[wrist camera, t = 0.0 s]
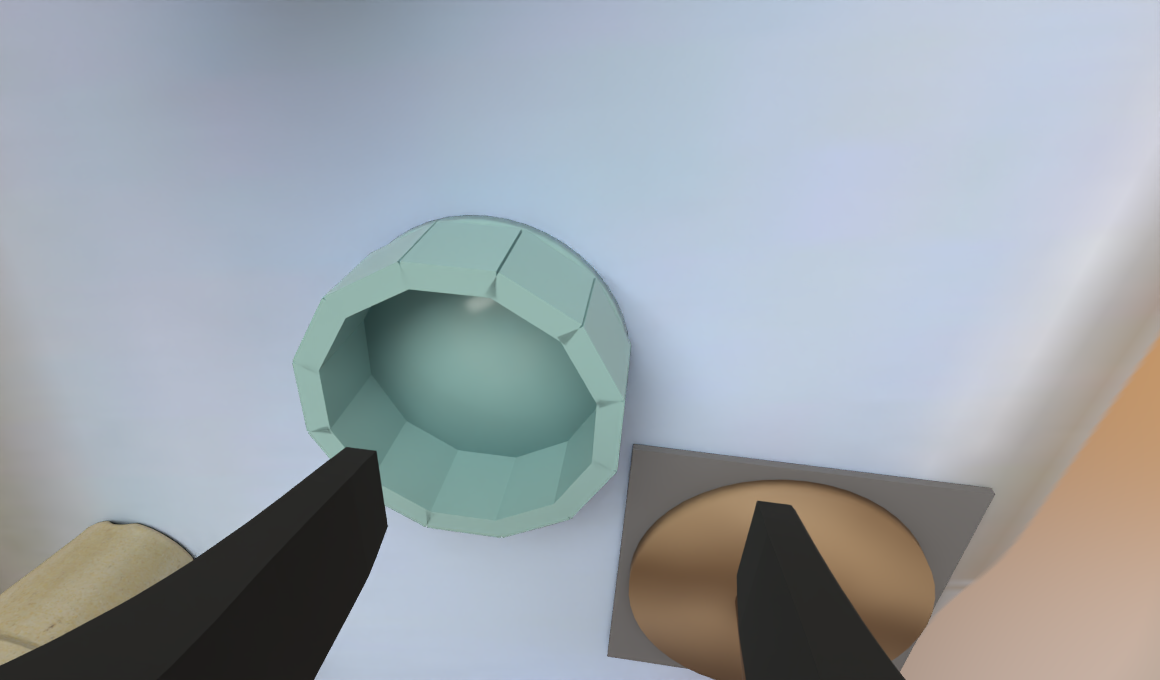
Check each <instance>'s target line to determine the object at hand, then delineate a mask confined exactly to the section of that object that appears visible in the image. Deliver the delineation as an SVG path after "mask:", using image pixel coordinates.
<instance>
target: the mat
mask: <svg viewBox="0 0 1160 680" xmlns="http://www.w3.org/2000/svg"><path fill="white" fill-rule="evenodd" d="M758 480H797V481H808V482H814V483H819V484H825V485H830V486H833V487H837V488H840V489H844V490H847V491H850V492H852V493H855V494H857V495H860V496H862V497H865V498H867V499H869V500H871V501H873V502H874V503H876V504H878V505H880V506H882V507H883V508H885V509H886V510H887V511H889V512H890V513H892V514H893V515H894V516H896V517H897V518H898V519H899V520H900V521H901V522H902V523H903V524H904V525H905V526H906V527H907V528H908V529H909V530H910V531H911V533H912V534H913V535H914V537H915V538H916V540H917V541H918V542H919V545H920V547H921V549H922V551H923V553H924V555H925V558H926V560H927V562H928V565H929V567H930V569H931V572H932V575H933V580H934V584H935V602H934V607H935V605H936V603H937V602H938V600H939V598H940V596H941V594H942V592H943V590H944V588H945V587H946V585H947V583H948V581H949V579H950V577H951V575H952V574H953V572H954V570H955V568H956V566H957V564H958V562H959V560H960V559H961V557H962V555H963V553H964V551H965V549H966V547H967V546H968V544H969V542H970V540H971V538H972V536H973V534H974V532H975V531H976V529H977V527H978V525H979V523H980V521H981V519H982V518H983V516H984V514H985V512H986V510H987V508H988V506H989V504H990V503H991V501H992V499H993V497H994V495H995V493H994V492H993V490H992V489H991V488H985V487H977V486H969V485H961V484H953V483H945V482H937V481H928V480H920V479H912V478H904V477H896V476H888V475H880V474H872V473H864V472H856V471H848V470H840V469H832V468H823V467H815V466H807V465H799V464H791V463H783V462H775V461H767V460H759V459H751V458H743V457H735V456H726V455H718V454H710V453H702V452H694V451H686V450H678V449H670V448H662V447H654V446H646V445H638V444H634V445H633V453H632V461H631V469H630V477H629V485H628V493H627V501H626V509H625V517H624V525H623V533H622V541H621V549H620V558H619V566H618V574H617V582H616V590H615V598H614V606H613V614H612V622H611V630H610V638H609V646H608V655H607V656H608V657H615V658H621V659H628V660H634V661H641V662H648V663H654V664H661V665H667V666H674V667H680V668H686V667H684V666H682V665H681V664H679V663H677V662H676V661H674V660H672V659H671V658H669V657H668V656H667V655H666V654H664V653H663V652H662V651H660V650H659V649H658V648H657V647H656V646H655V645H654V644H653V643H652V642H651V641H650V640H649V639H648V638H647V637H646V635H645V634H644V633H643V631H642V630H641V629H640V627H639V625H638V623H637V621H636V620H635V618H634V615H633V612H632V609H631V606H630V600H629V578H630V566H631V562H632V558H633V554H634V552H635V550H636V548H637V545H638V543H639V542H640V540H641V539H642V537H643V536H644V534H645V533H646V531H647V530H648V529H649V528H650V527H651V526H652V525H653V524H654V523H655V522H656V521H657V520H658V519H659V518H660V517H662V516H663V515H664V514H665V513H667V512H668V511H669V510H671V509H672V508H674V507H676V506H677V505H679V504H681V503H682V502H684V501H686V500H688V499H690V498H692V497H695V496H697V495H699V494H701V493H704V492H707V491H710V490H713V489H716V488H719V487H723V486H727V485H732V484H737V483H741V482H750V481H758ZM934 607H933V609H934ZM917 639H918V638H917ZM916 641H917V640H916ZM916 641H915V642H914V643H913V644H912V645H911V646H910V647H909V648H908V649H907V650H906V651H904V652H903V653H902V654H901V655H899V656H898V657H897V658H895V659H894V660H892V663H893V664H894V665H895V667H896V668H897V669H898V671H899V672H900V671H901V668H902V667H903V665H904V663H905V661H906V659H907V657H908V656H909V654H910V652H911V650H912V648H913V646H914V644H915V643H916ZM687 669H688V668H687Z"/></svg>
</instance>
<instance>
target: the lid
mask: <svg viewBox="0 0 1160 680" xmlns="http://www.w3.org/2000/svg"><path fill="white" fill-rule="evenodd" d="M757 501H765V502H773V503H780V504H788V505H792V507H793V508H794V509H795V510H796V512H797V514H798V516H799V517H800V519H801V521H802V523H803V524H804V526H805V528H806V530H807V532H808V533H809V535H810V537H811V539H812V540H813V542H814V544H815V545H816V547H817V549H818V551H819V552H820V554H821V556H822V557H823V559H824V561H825V562H826V564H827V566H828V567H829V569H830V571H831V572H832V574H833V575H834V577H835V579H836V580H837V582H838V583H839V585H840V587H841V588H842V590H843V591H844V593H845V594H846V596H847V597H848V599H849V600H850V602H851V603H852V605H853V606H854V608H855V610H856V611H857V613H858V614H859V616H860V617H861V619H862V620H863V622H864V623H865V625H866V626H867V627H868V629H869V630H870V632H871V633H872V635H873V636H874V638H875V639H876V640H877V642H878V643H879V645H880V646H881V647H882V649H883V650H884V651H885V653H886V654H887V656H888V657H889V658H890V660H891V661H892V660H894V659H895V658H897V657H898V656H899V655H901V654H902V653H903V652H904V651H906V650H907V649H908V648H909V647H910V646H911V645H912V644H913V643H914V642H915V641H916V640H917V638H918V637H919V636H920V635H921V633H922V632H923V630H924V629H925V627H926V626H927V624H928V621H929V619H930V617H931V614H932V612H933V607H934V602H935V584H934V580H933V575H932V572H931V569H930V567H929V565H928V562H927V560H926V558H925V555H924V553H923V551H922V549H921V547H920V545H919V542H918V541H917V540H916V538H915V537H914V535H913V534H912V533H911V531H910V530H909V529H908V528H907V527H906V526H905V525H904V524H903V523H902V522H901V521H900V520H899V519H898V518H897V517H896V516H894V515H893V514H892V513H890V512H889V511H887V510H886V509H885V508H883V507H882V506H880V505H878V504H876V503H874V502H873V501H871V500H869V499H867V498H865V497H862V496H860V495H857V494H855V493H852V492H850V491H847V490H844V489H840V488H837V487H833V486H830V485H825V484H819V483H814V482H808V481H797V480H758V481H750V482H741V483H737V484H732V485H727V486H723V487H719V488H716V489H713V490H710V491H707V492H704V493H701V494H699V495H697V496H695V497H692V498H690V499H688V500H686V501H684V502H682V503H681V504H679V505H677V506H676V507H674V508H672V509H671V510H669V511H668V512H667V513H665V514H664V515H663V516H662V517H660V518H659V519H658V520H657V521H656V522H655V523H654V524H653V525H652V526H651V527H650V528H649V529H648V530H647V531H646V533H645V534H644V536H643V537H642V539H641V540H640V542H639V543H638V545H637V548H636V550H635V552H634V554H633V558H632V562H631V566H630V578H629V600H630V606H631V609H632V612H633V615H634V618H635V620H636V621H637V623H638V625H639V627H640V629H641V630H642V631H643V633H644V634H645V635H646V637H647V638H648V639H649V640H650V641H651V642H652V643H653V644H654V645H655V646H656V647H657V648H658V649H659V650H660V651H662V652H663V653H664V654H666V655H667V656H668V657H669V658H671V659H672V660H674V661H676V662H677V663H679V664H681V665H682V666H684V667H686V668H688V669H690V670H692V671H695V672H697V673H699V674H701V675H704V676H707V677H710V678H712V679H715V680H746V678H745V671H744V664H743V658H742V651H741V644H740V637H739V628H738V607H737V572H738V568H739V565H740V561H741V557H742V554H743V550H744V546H745V543H746V539H747V535H748V532H749V528H750V524H751V521H752V517H753V514H754V510H755V506H756V503H757Z"/></svg>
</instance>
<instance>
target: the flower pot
mask: <svg viewBox="0 0 1160 680" xmlns="http://www.w3.org/2000/svg"><path fill="white" fill-rule="evenodd" d="M192 560H193V558H192V556H191V555H190V554H189V553H188V552H187V551H186V550H185V549H183V548H182V547H181V546H180V545H179V544H177V543H176V542H174V541H173V540H171V539H170V538H168V537H167V536H165V535H163V534H161V533H160V532H158V531H156V530H154V529H151V528H149V527H147V526H144V525H141V524H137V523H134V524H124V525H116V524H112V523H111V522H110V521H104V522H99V523H96V524H94V525H92V526H90V527H88V528H87V529H86V530H85V531H83V532H82V533H81V534H80V535H79V536H77V537H76V538H75V539H73V540H72V541H71V542H69V543H68V544H67V545H65V546H64V547H63V548H61V549H60V550H59V551H58V552H56V553H55V554H54V555H52V556H51V557H50V558H48V559H47V560H46V561H45V562H43V563H42V564H41V565H39V566H38V567H37V568H35V569H34V570H33V571H31V572H30V573H29V574H27V575H26V576H25V577H23V578H22V579H21V580H19V581H18V582H17V583H15V584H14V585H13V586H11V587H10V588H9V589H7V590H6V591H5V592H3V593H2V594H1V595H0V665H2V664H4V663H7V662H9V661H11V660H13V659H15V658H17V657H19V656H21V655H23V654H25V653H27V652H30V651H32V650H34V649H36V648H38V647H40V646H42V645H44V644H46V643H48V642H50V641H52V640H54V639H56V638H58V637H60V636H62V635H64V634H65V633H67V632H69V631H71V630H73V629H75V628H77V627H79V626H80V625H82V624H84V623H86V622H88V621H90V620H92V619H94V618H95V617H97V616H99V615H101V614H103V613H105V612H107V611H109V610H111V609H112V608H114V607H116V606H118V605H120V604H122V603H123V602H125V601H127V600H129V599H130V598H132V597H134V596H136V595H137V594H139V593H141V592H142V591H144V590H146V589H147V588H149V587H151V586H152V585H154V584H156V583H157V582H159V581H161V580H162V579H164V578H166V577H167V576H169V575H170V574H172V573H174V572H175V571H177V570H178V569H180V568H182V567H183V566H185V565H186V564H188V563H189V562H191V561H192Z"/></svg>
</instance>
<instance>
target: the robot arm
mask: <svg viewBox="0 0 1160 680" xmlns="http://www.w3.org/2000/svg"><path fill="white" fill-rule="evenodd" d="M387 527H388V525H387V518H386V511H385V505H384V498H383V491H382V484H381V477H380V470H379V464H378V457H377V451H374V450H367V449H359V448H352V447H345V448H344V449H343V450H341V451H340V452H339V453H337V454H336V455H335V456H334V457H332V458H331V459H330V460H328V461H327V462H326V463H324V464H323V465H322V466H321V467H319V468H318V469H317V470H315V471H314V472H313V473H312V474H310V475H309V476H308V477H306V478H305V479H304V480H303V481H301V482H300V483H299V484H297V485H296V486H295V487H294V488H292V489H291V490H290V491H288V492H287V493H286V494H285V495H283V496H282V497H281V498H279V499H278V500H277V501H275V502H274V503H273V504H271V505H270V506H269V507H267V508H266V509H265V510H263V511H262V512H261V513H259V514H258V515H257V516H255V517H254V518H253V519H251V520H250V521H249V522H247V523H246V524H245V525H243V526H242V527H240V528H239V529H237V530H236V531H234V532H233V533H232V534H230V535H229V536H227V537H226V538H224V539H223V540H222V541H220V542H219V543H217V544H216V545H214V546H213V547H211V548H210V549H209V550H207V551H206V552H204V553H203V554H201V555H200V556H199V557H197V558H196V559H194V560H192V561H191V562H189V563H188V564H186V565H185V566H183V567H182V568H180V569H178V570H177V571H175V572H174V573H172V574H170V575H169V576H167V577H166V578H164V579H162V580H161V581H159V582H157V583H156V584H154V585H152V586H151V587H149V588H147V589H146V590H144V591H142V592H141V593H139V594H137V595H136V596H134V597H132V598H130V599H129V600H127V601H125V602H123V603H122V604H120V605H118V606H116V607H114V608H112V609H111V610H109V611H107V612H105V613H103V614H101V615H99V616H97V617H95V618H94V619H92V620H90V621H88V622H86V623H84V624H82V625H80V626H79V627H77V628H75V629H73V630H71V631H69V632H67V633H65V634H64V635H62V636H60V637H58V638H56V639H54V640H52V641H50V642H48V643H46V644H44V645H42V646H40V647H38V648H36V649H34V650H32V651H30V652H27V653H25V654H23V655H21V656H19V657H17V658H15V659H13V660H11V661H9V662H7V663H4V664H2V665H0V680H314V679H315V677H316V675H317V673H318V671H319V669H320V667H321V665H322V664H323V662H324V660H325V658H326V656H327V654H328V652H329V650H330V649H331V647H332V645H333V643H334V641H335V639H336V637H337V635H338V634H339V632H340V630H341V628H342V626H343V624H344V622H345V621H346V619H347V617H348V615H349V613H350V611H351V609H352V607H353V605H354V603H355V602H356V600H357V598H358V596H359V594H360V592H361V590H362V588H363V586H364V584H365V582H366V580H367V578H368V576H369V574H370V572H371V569H372V567H373V564H374V562H375V559H376V557H377V554H378V551H379V549H380V546H381V543H382V540H383V538H384V535H385V532H386V530H387ZM737 607H738V628H739V637H740V644H741V651H742V658H743V664H744V671H745V678H746V680H905V679H904V677H903V676H902V675H901V673H900V672H899V671H898V669H897V668H896V667H895V665H894V664H893V663H892V661H891V660H890V658H889V657H888V656H887V654H886V653H885V651H884V650H883V649H882V647H881V646H880V645H879V643H878V642H877V640H876V639H875V638H874V636H873V635H872V633H871V632H870V630H869V629H868V627H867V626H866V625H865V623H864V622H863V620H862V619H861V617H860V616H859V614H858V613H857V611H856V610H855V608H854V606H853V605H852V603H851V602H850V600H849V599H848V597H847V596H846V594H845V593H844V591H843V590H842V588H841V587H840V585H839V583H838V582H837V580H836V579H835V577H834V575H833V574H832V572H831V571H830V569H829V567H828V566H827V564H826V562H825V561H824V559H823V557H822V556H821V554H820V552H819V551H818V549H817V547H816V545H815V544H814V542H813V540H812V539H811V537H810V535H809V533H808V532H807V530H806V528H805V526H804V524H803V523H802V521H801V519H800V517H799V516H798V514H797V512H796V510H795V509H794V508H793V507H792V505H788V504H780V503H773V502H765V501H757V503H756V506H755V510H754V514H753V517H752V521H751V524H750V528H749V532H748V535H747V539H746V543H745V546H744V550H743V554H742V557H741V561H740V565H739V568H738V572H737Z"/></svg>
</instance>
